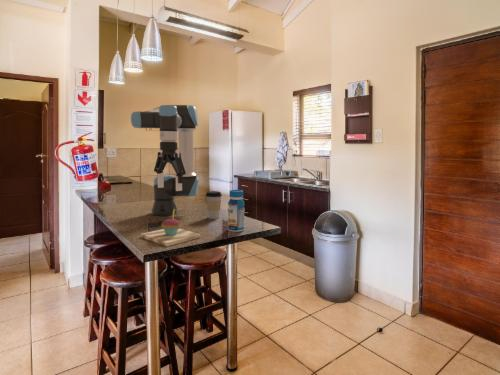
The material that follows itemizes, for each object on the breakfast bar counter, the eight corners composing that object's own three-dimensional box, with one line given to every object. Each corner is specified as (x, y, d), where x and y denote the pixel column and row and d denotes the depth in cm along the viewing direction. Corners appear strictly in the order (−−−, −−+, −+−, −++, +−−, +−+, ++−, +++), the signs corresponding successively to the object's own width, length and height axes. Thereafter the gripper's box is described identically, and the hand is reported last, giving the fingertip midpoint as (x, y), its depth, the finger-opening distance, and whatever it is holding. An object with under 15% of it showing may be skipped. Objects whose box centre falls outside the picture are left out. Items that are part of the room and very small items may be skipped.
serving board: (140, 237, 148) (140, 233, 148) (173, 229, 162) (173, 226, 161) (166, 246, 135) (166, 242, 135) (200, 237, 149) (200, 234, 148)
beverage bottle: (245, 231, 159) (246, 191, 157) (228, 232, 158) (228, 191, 155) (243, 227, 167) (243, 189, 165) (226, 228, 166) (227, 189, 163)
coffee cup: (219, 219, 183) (219, 193, 181) (203, 219, 185) (203, 193, 183) (223, 216, 193) (223, 191, 191) (208, 215, 194) (208, 190, 192)
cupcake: (172, 230, 154) (171, 205, 152) (184, 233, 149) (184, 208, 147) (157, 234, 147) (156, 208, 145) (170, 238, 142) (169, 211, 140)
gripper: (145, 141, 148) (146, 187, 151) (179, 141, 132) (180, 193, 135) (159, 141, 153) (160, 185, 156) (193, 141, 137) (194, 191, 140)
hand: (169, 189), depth 146 cm, fingers open, 13 cm apart
